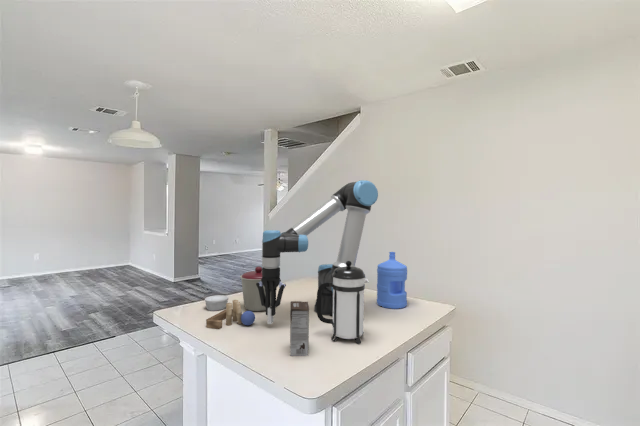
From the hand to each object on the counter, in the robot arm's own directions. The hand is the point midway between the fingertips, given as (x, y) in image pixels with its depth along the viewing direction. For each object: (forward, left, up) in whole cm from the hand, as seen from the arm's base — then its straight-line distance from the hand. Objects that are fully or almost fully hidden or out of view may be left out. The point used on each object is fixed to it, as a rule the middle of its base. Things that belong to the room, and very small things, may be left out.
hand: (270, 322), depth 133 cm
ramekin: (+37, -16, -2) cm, 40 cm away
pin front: (+14, 0, -2) cm, 14 cm away
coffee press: (-32, +1, -2) cm, 32 cm away
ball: (+10, 0, +1) cm, 10 cm away
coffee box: (-19, +17, -2) cm, 26 cm away
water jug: (-47, -50, -2) cm, 69 cm away
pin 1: (+18, +2, -2) cm, 19 cm away
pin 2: (+18, -3, -2) cm, 19 cm away
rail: (+22, 0, -2) cm, 23 cm away
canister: (+17, -22, -2) cm, 28 cm away
